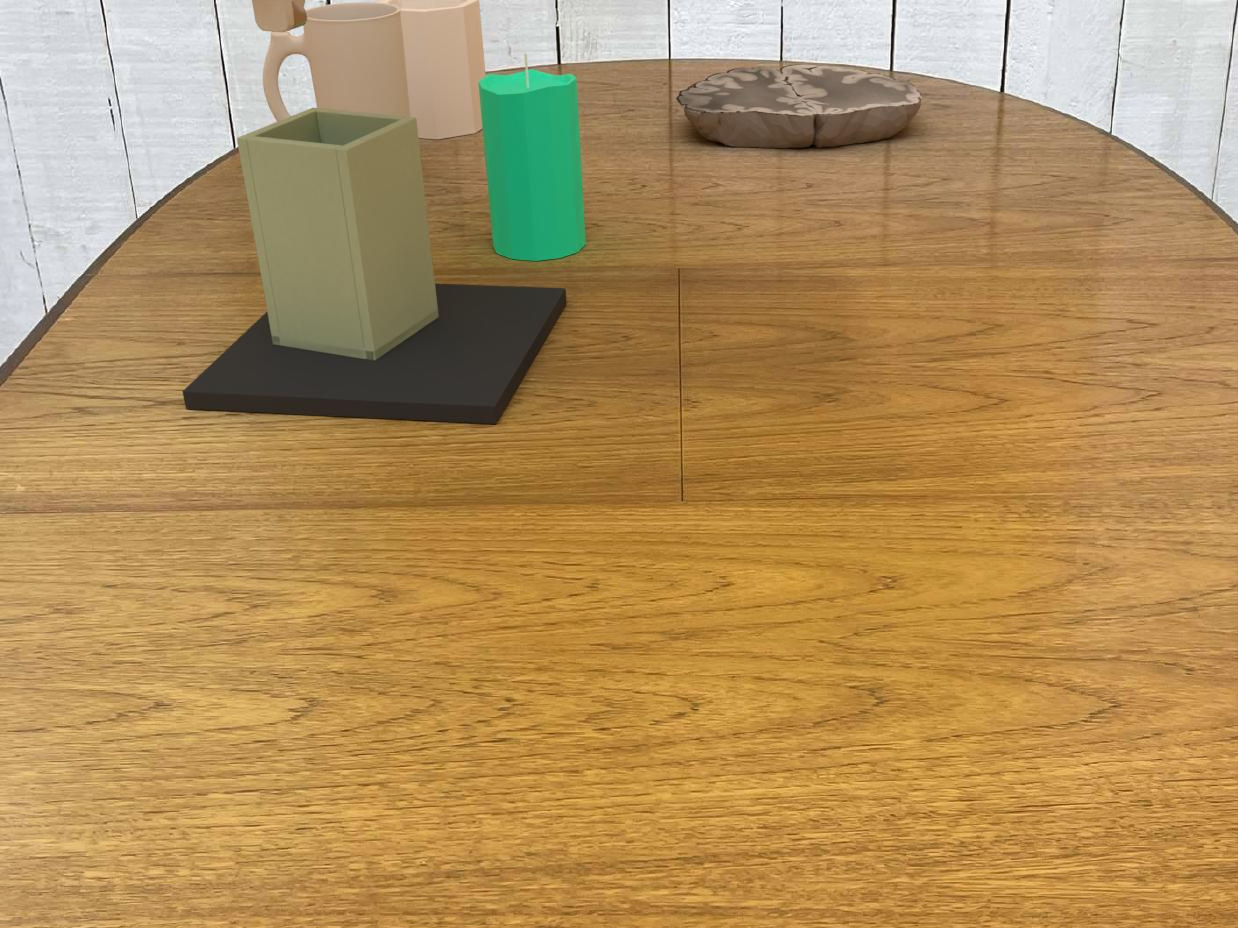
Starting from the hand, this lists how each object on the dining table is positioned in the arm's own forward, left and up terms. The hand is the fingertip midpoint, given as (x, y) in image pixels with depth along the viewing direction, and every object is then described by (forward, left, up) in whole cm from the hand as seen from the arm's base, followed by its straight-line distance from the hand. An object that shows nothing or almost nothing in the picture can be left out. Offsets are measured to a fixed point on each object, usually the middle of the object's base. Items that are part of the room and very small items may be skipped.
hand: (343, 10), depth 68 cm
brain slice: (+18, +49, -18) cm, 56 cm away
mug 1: (-13, +30, -18) cm, 38 cm away
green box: (-2, +1, -11) cm, 11 cm away
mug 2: (-13, +46, -18) cm, 51 cm away
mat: (0, 0, -18) cm, 18 cm away
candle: (+4, +18, -18) cm, 26 cm away
